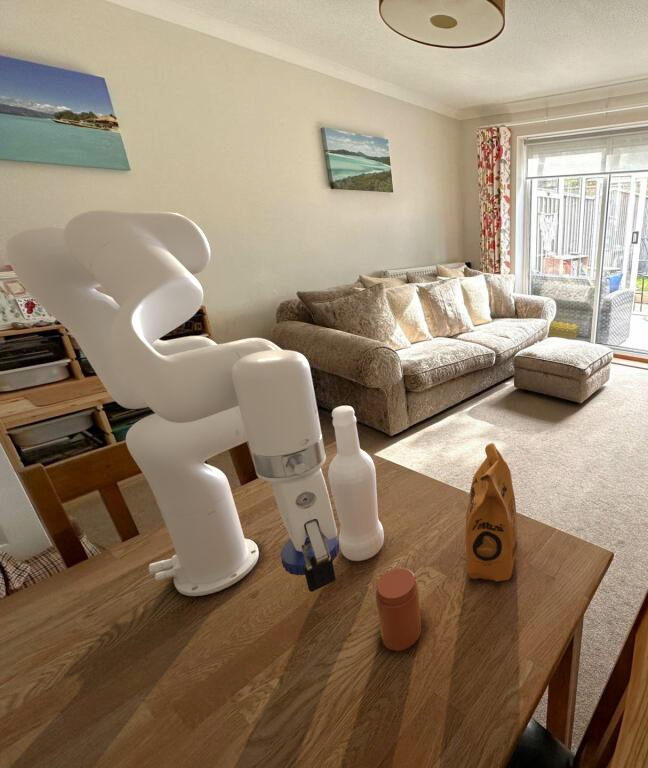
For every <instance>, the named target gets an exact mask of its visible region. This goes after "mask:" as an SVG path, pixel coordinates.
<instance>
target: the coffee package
mask: <svg viewBox="0 0 648 768" xmlns="http://www.w3.org/2000/svg"><path fill="white" fill-rule="evenodd" d="M484 453H485V455H486V458H485V459H484V460H483V461H482V463H481V464H480V466H479V467H478V468H477V470H476V471H475V473H474V474H473V477H472V481H471V485H470V491H469V495H468V501H467V506H466V507H467V508H466V514H465V515H466V517H465V535H464V536H465V537H464V538H465V547H466V560H467V567H466V570H467V571H466V572H467V574H468V576H469V577H470V578H471V579H474V580H477V579H483V580H486V581H487V580H490V581H494V582H496V583H498V582H503V581H508V580H510V579H511V577H512V573H513V569H514V566H515V565H514V564H515V559H516V558H517V555H518V518H517V517H518V515H517V505H516V498H515V492H514V491H515V490H514V485H513V478H512V472H511V469H510V467H509V466H508V463H507V461H505V459H504V458H503V456H502V454H501V453H500V451H499V450H498V448H497V447H496V445H495V443H494V442H491V443H488V444H487V445H486V446H485V449H484Z"/></svg>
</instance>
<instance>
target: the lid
mask: <svg viewBox="0 0 648 768" xmlns="http://www.w3.org/2000/svg"><path fill="white" fill-rule="evenodd" d="M325 538H326V542H327V546H328V549H329V553H330V555H331V557H332V562H333V563H334V560H335V559H336V558H337V557H338V554H339V552H340V544H339V538H338V535H337V536H336V537H335V538H332V539H330V540H329V539H328V538H327V537H326V536H325ZM307 542H309V538H306V540H305V543H307ZM307 550H308V554H309V557H310V558H311V557H313V551H312V548H310V549H307ZM280 559H281V564H282V568H283V569H284V570H285V572H287V573H288V574H290V575H294V576H305V572H304V567H303V566H305V565H306V564H305V561H304V557H303V554H302V552H300V551H297V550H296V549H295V547H294V545H293V542H292V540H291V538H289V539H288V540H287V541H286V542H285V544H284V545H283V546H282V548H281V551H280Z"/></svg>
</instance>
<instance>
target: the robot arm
mask: <svg viewBox="0 0 648 768" xmlns="http://www.w3.org/2000/svg"><path fill="white" fill-rule="evenodd" d="M5 246H6V247H5V251H6V256H7V259H8V263H9V264H10V265H9V266H10V267H11V269H12V271H13V273H14V274H15V277H16V278H17V280H18V282H19V283H20V284H21V285H22V287H23V288H24V289H25V291H26V292H27V293H28V294H29V296H31V297H32V299H33V300H34V301H35V302H36V303H37V304H38V305H39V306H40V307H42V309H44V310H45V311H46V312H47V313H48V314H49V315H51V316H52V317H53V318H54V319H55V320H56V321H58V323H60V324H61V325H62V326H63V327H64V328H65V329H66V330H67V331H68V332H69V333H70V334H71V336H72V337H73V339H74V340H75V342H76V343H77V344H78V346H79V348H80V349H81V351H82V352H83V355H84V356H85V357H86V359H87V361H88V363H89V364H90V366H91V368H92V369H93V371H94V372H95V374H96V376H97V377H98V379H99V380H100V382H101V384H102V385H103V387H104V388H105V390H106V391H107V393H108V394H109V396H110V397H111V398H112V400H114V401H115V402H116V403H117V404H118V405H119V406H121V407H122V408H124V409H129V410H139V409H146V408H149V409H150V410H151V411H152V412H154V413H151V414H149V415H147V416H145V417H142V418H141V419H140V420H138V421H136V422H134V423H133V424H132V426H130V427H129V429H128V431H127V432H126V435H125V445H126V447H127V450H128V452H129V454H130V456H131V457H132V459H133V460H134V462H135V464H136V465H137V467H138V468H139V470H140V471H141V472H142V474H143V476H144V477H145V479H146V481H147V483H148V485H149V487H150V488H151V491H152V495H153V496H154V499H155V501H156V503H157V506H158V509H159V511H160V513H161V516H162V519H163V522H164V525H165V527H166V531H167V532H168V535H169V538H170V541H171V543H172V546H173V548H174V552H175V554H174V555H172V557H171V558H168V559H163V560H159V561H156V562H152V563H149V565H148V572H149V575H150V576H154V580H155V582H156V583H158V582H160V581H164V580H167V579H169V578H173V584H174V588H175V589H176V590H177V592H178V593H180V594H181V595H184V596H188V597H199V596H200V597H201V596H205V595H211V594H214V593H217V592H220V591H222V590H225V589H227V588H229V587H230V586H232V585H234V584H236V583H238V582H239V581H240V580H241V579H243V578H244V577H245V576H247V575H248V574H249V573H250V572H251V571H252V570H253V568H254V567H255V565H256V564H257V562H258V559H259V556H260V555H259V554H260V552H259V547H258V545H257V544H256V542H254V541H253V540H252V539H249V538H245V535H244V533H243V532H244V531H243V528H242V525H241V521H240V518H239V517H240V516H239V514H238V510H237V506H236V503H235V499H234V497H233V493H232V489H231V486H230V483H229V480H228V478H227V476H226V474H225V473H224V472H223V471H222V470H220V468H217V467H215V466H212V465H210V464H208V463H205V462H206V461H207V460H209V459H211V458H213V457H215V456H217V455H219V454H221V453H224V452H225V451H228V450H230V449H233V448H235V447H237V446H240V445H243V444H244V443H247V442H248V447H249V451H250V454H251V458H252V462H253V466H254V470H255V474H256V476H257V478H259V479H260V480H262V481H265V482H270V485H271V488H272V492H273V496H274V499H275V503H276V506H277V509H278V513H279V515H280V517H281V520H282V523H283V525H284V527H285V530H286V532H287V534H288V536H289V539H291V540H292V542H293V545H294V547H295V549H296V550H297V551H300V552H302V554H303V557H304V561H305V564H306V565H305V566H303V567H304V572H305V575H304V576H305V580H306V584H307V589H308V591H309V592H310V593H312V592H315V591H317V590H319V589H321V588H323V587H325V586H328V585H329V584H331V583H334V582H335V581H336V573H335V569H334V561H333V562H332V557H331V555H330V553H329V549H328V546H327V542H326V538H325V536H326V537H327V538H328V539H329V540H330V539H332V538H335V537H336V536H337V537H338V529H337V524H336V519H335V516H334V511H333V507H332V504H331V499H330V495H329V492H328V487H327V484H326V481H325V477H324V473H323V470H322V468H321V467H322V466H323V465H324V464H325V462H326V459H327V455H326V449H325V443H324V438H323V434H322V428H321V423H320V417H319V411H318V405H317V399H316V393H315V389H314V382H313V377H312V371H311V366H310V364H309V361H308V359H307V358H306V356H304V355H303V354H302V353H300V352H299V351H296V350H289V349H283V348H280V347H279V346H278V345H276V344H275V343H274V342H272V341H270V340H268V339H266V338H262V337H247V338H242V339H238V340H234V341H229V342H224V343H216V342H215V341H213V340H212V339H211V338H208V337H206V336H201V335H189V336H182V337H177V338H172V339H167V340H162V339H161V338H162V337H164V336H165V335H168V334H169V333H170V332H172V331H174V330H175V329H177V328H178V327H180V326H181V325H183V324H185V323H186V322H188V321H189V320H191V319H192V318H193V317H194V316H195V315H196V314H197V312H198V311H199V310H200V309H201V307H202V304H203V301H204V290H203V287H202V285H201V283H200V282H199V280H198V279H197V278H196V277H195V276H194V275H196V274H199V273H201V272H203V271H204V270H206V269H207V267H208V266H209V263H210V262H211V256H212V255H211V248H210V244H209V242H208V239H207V237H206V235H205V233H204V232H203V231H202V229H201V228H200V227H199V226H198V225H197V224H196V223H195V222H194V221H193V220H191V219H190V218H188V217H186V216H185V215H183V214H180V213H177V212H173V211H150V210H123V209H122V210H120V209H119V210H118V209H98V210H91V211H86V212H85V211H84V212H82V213H79V214H77V215H75V216H74V217H72V218H71V219H69V221H68V222H67V224H66V225H65V226H43V227H37V228H30V229H25V230H22V231H19V232H16V233H14V234H13V235H12V236H11V237H9V238H8V239H7V242H6V245H5ZM96 288H102V289H103V290H104V291H105V292H106V293H107V294H108V295H107V294H105V293H104V292H103V293H102V292H100V291H99V290H97V289H96ZM306 538H309V542H307V543H305V540H306ZM310 548H312V551H313V557H311V558H310V557H309V554H308V550H307V549H310Z"/></svg>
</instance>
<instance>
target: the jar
mask: <svg viewBox="0 0 648 768" xmlns="http://www.w3.org/2000/svg"><path fill="white" fill-rule="evenodd" d="M375 600H376V602H375V603H376V607H377V616H378V622H379V631H380V636H381V642H382V644H383V645H384V646H385V647H386V648H387V649H388V650H391V651H395V652H396V651H399V652H400V651H403V650H406V649H408V648H410V647H412V646H413V645H414V644H415V643H416V642H417V641H418V639H419V637H420V636H421V633H422V620H421V608H420V596H419V587H418V581H417V577H416V574H415V573H413V571H411V570H410V569H408V568H404V567H396V568H393V569H390V570H388V571H386V572H384V573H383V574H382V575H381V576H380V577H379V579H378V581H377V584H376V590H375Z"/></svg>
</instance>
